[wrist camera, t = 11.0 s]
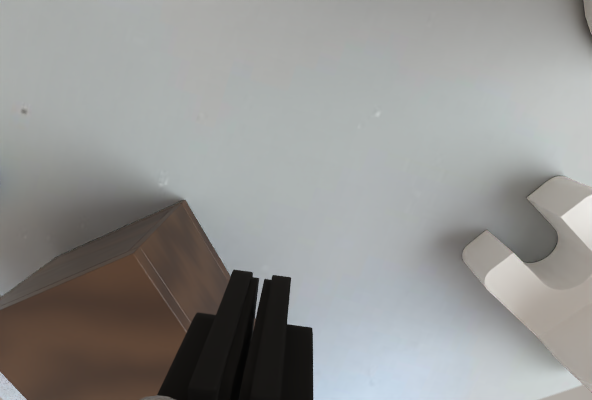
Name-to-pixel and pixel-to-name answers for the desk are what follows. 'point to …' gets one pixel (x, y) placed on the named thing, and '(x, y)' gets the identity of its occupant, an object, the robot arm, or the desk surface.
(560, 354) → the white slotted bracket
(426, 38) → the desk surface
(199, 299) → the cabinet
